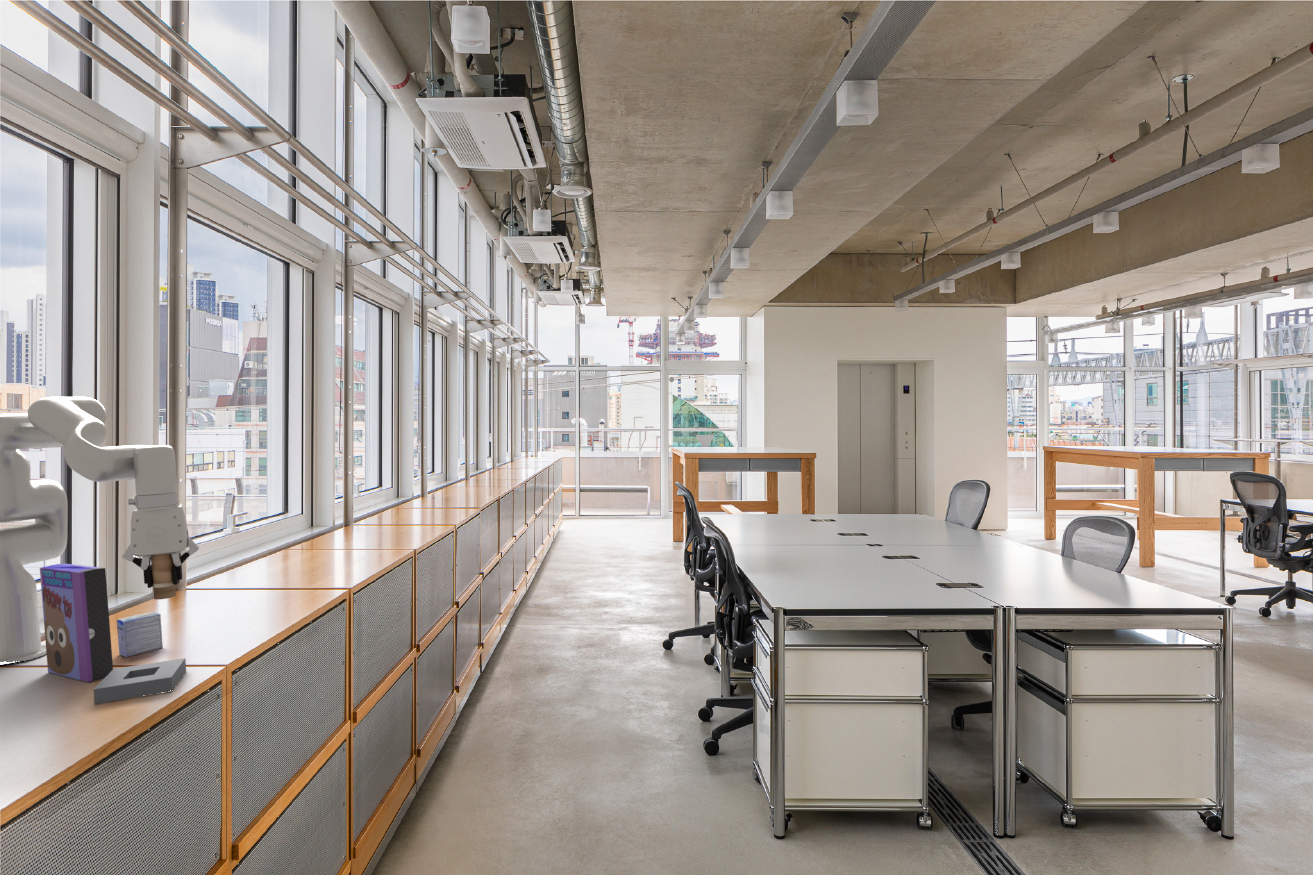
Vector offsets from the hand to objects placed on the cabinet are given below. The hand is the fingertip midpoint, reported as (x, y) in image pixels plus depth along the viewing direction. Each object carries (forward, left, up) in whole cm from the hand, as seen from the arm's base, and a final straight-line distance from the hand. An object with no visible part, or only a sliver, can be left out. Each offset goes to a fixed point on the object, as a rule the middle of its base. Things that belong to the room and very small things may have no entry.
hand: (163, 584), depth 159 cm
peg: (0, 0, -3) cm, 3 cm away
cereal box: (-9, -19, -20) cm, 29 cm away
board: (+8, -3, -19) cm, 21 cm away
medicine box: (-22, -10, -20) cm, 31 cm away
